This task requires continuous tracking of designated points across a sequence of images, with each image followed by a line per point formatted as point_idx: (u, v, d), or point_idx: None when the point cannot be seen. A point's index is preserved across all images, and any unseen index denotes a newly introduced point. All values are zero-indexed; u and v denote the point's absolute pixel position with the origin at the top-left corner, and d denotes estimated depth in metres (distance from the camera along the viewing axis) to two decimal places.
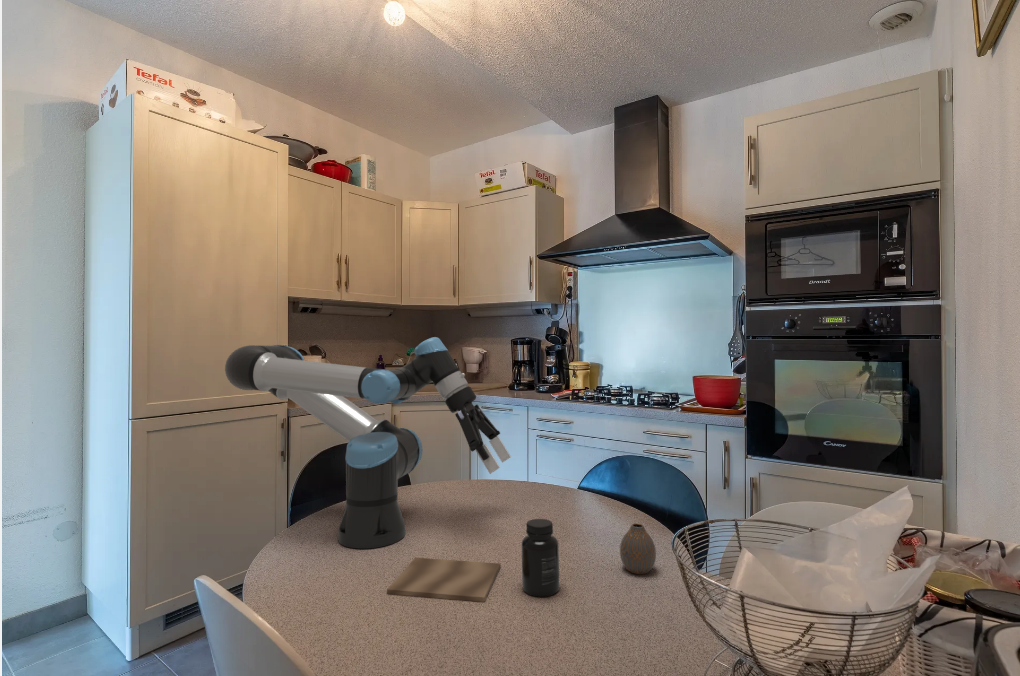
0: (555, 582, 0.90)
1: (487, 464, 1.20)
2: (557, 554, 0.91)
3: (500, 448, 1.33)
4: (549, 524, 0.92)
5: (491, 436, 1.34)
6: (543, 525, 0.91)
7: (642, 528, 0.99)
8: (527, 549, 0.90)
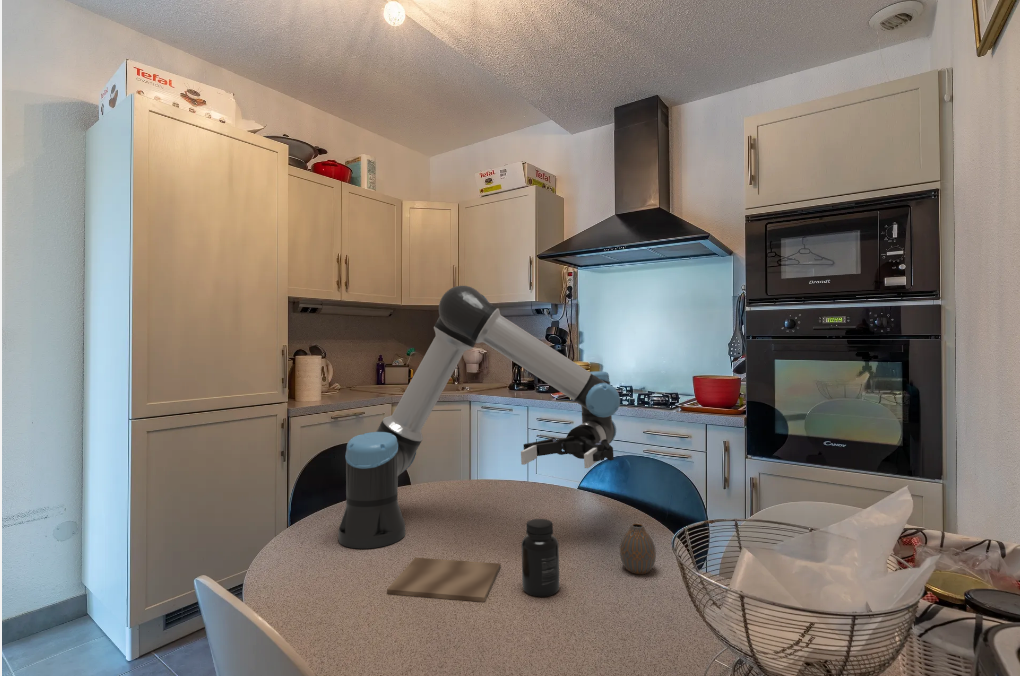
0: (555, 582, 0.90)
1: (591, 455, 1.01)
2: (557, 554, 0.91)
3: (531, 456, 1.08)
4: (549, 524, 0.92)
5: None
6: (543, 525, 0.91)
7: (642, 528, 0.99)
8: (527, 549, 0.90)
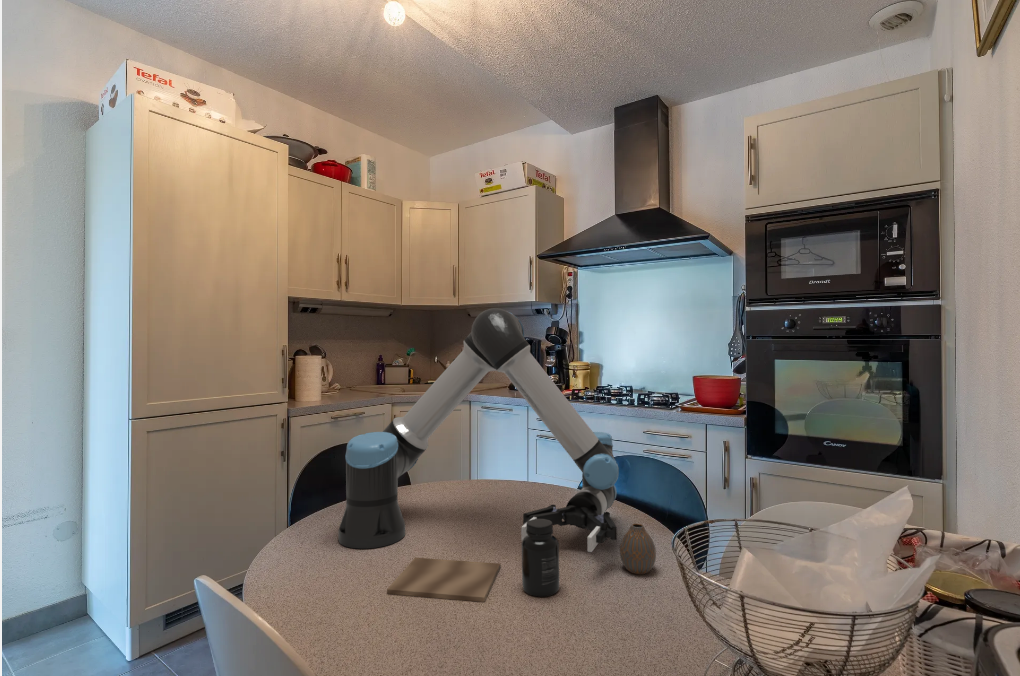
0: (555, 582, 0.90)
1: (594, 537, 0.97)
2: (557, 554, 0.91)
3: None
4: (549, 524, 0.92)
5: None
6: (543, 525, 0.91)
7: (642, 528, 0.99)
8: (527, 549, 0.90)
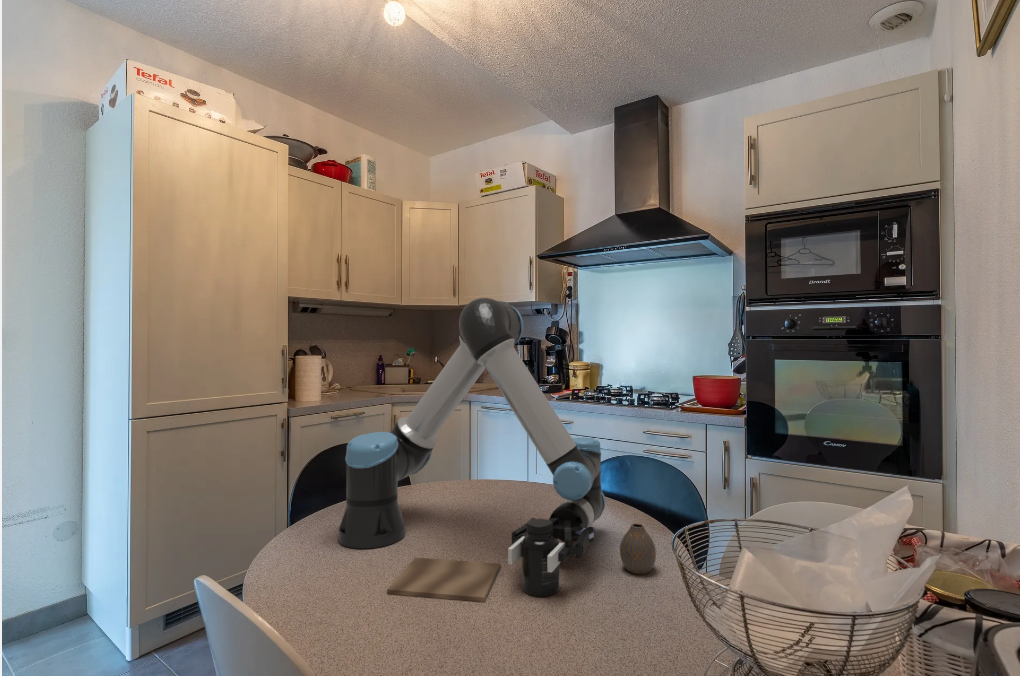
0: (555, 582, 0.90)
1: (556, 555, 0.88)
2: None
3: (519, 551, 0.93)
4: (549, 524, 0.92)
5: None
6: (543, 525, 0.91)
7: (642, 528, 0.99)
8: (527, 549, 0.90)
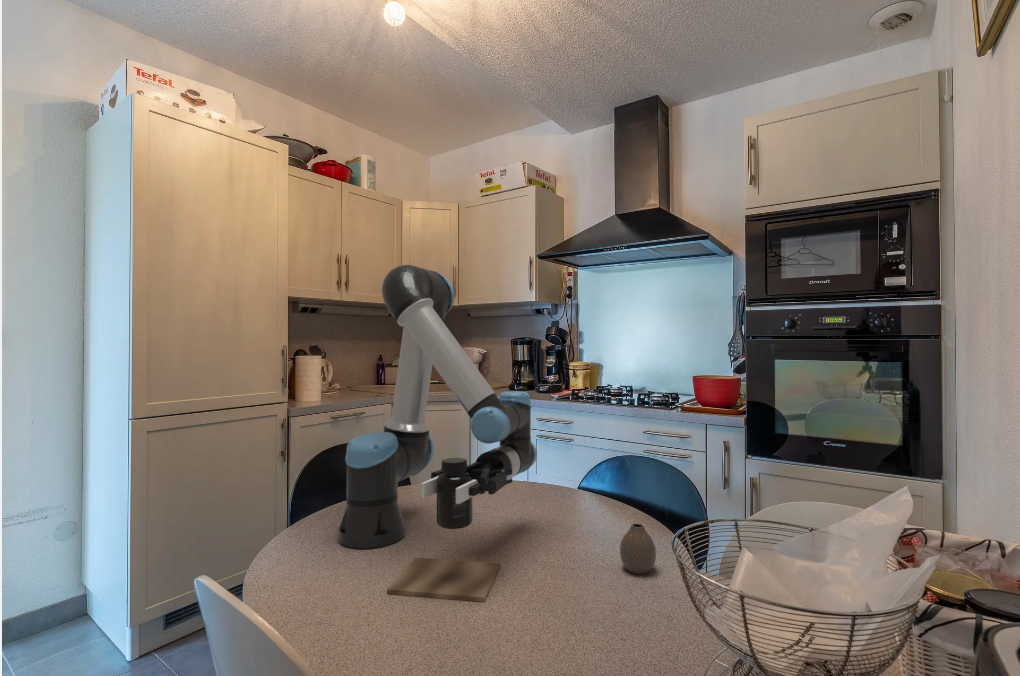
0: (466, 516, 0.94)
1: (465, 489, 0.92)
2: None
3: (434, 488, 0.96)
4: (463, 461, 0.95)
5: None
6: (456, 461, 0.95)
7: (642, 528, 0.99)
8: (440, 484, 0.94)
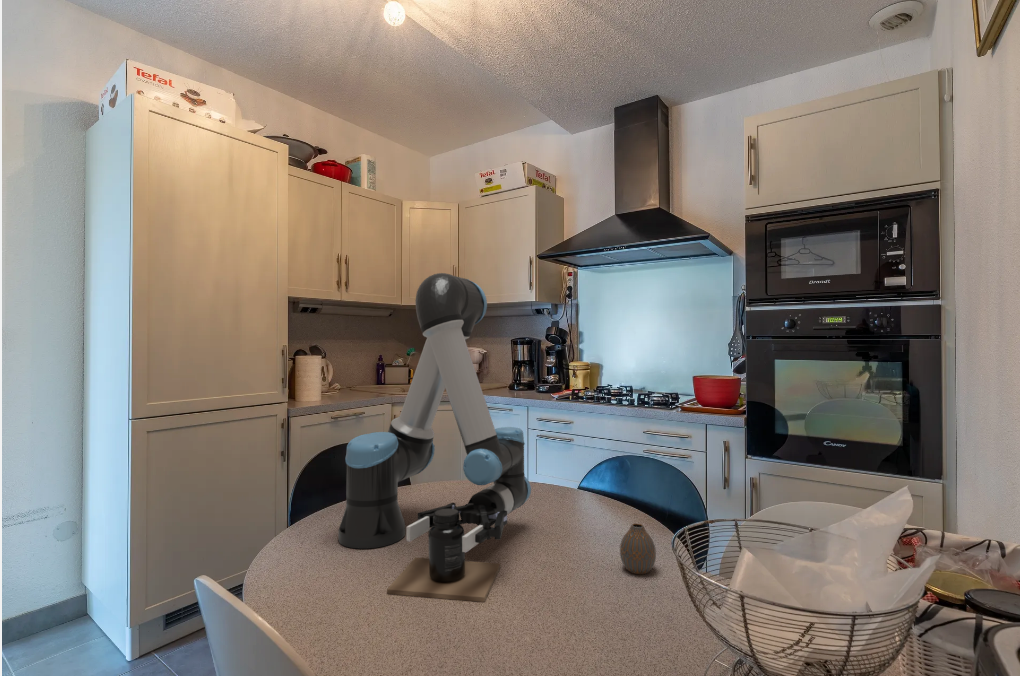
0: (458, 569, 0.94)
1: (472, 536, 0.92)
2: (461, 542, 0.95)
3: (420, 530, 0.99)
4: (454, 513, 0.96)
5: None
6: (448, 514, 0.95)
7: (642, 528, 0.99)
8: (431, 537, 0.94)
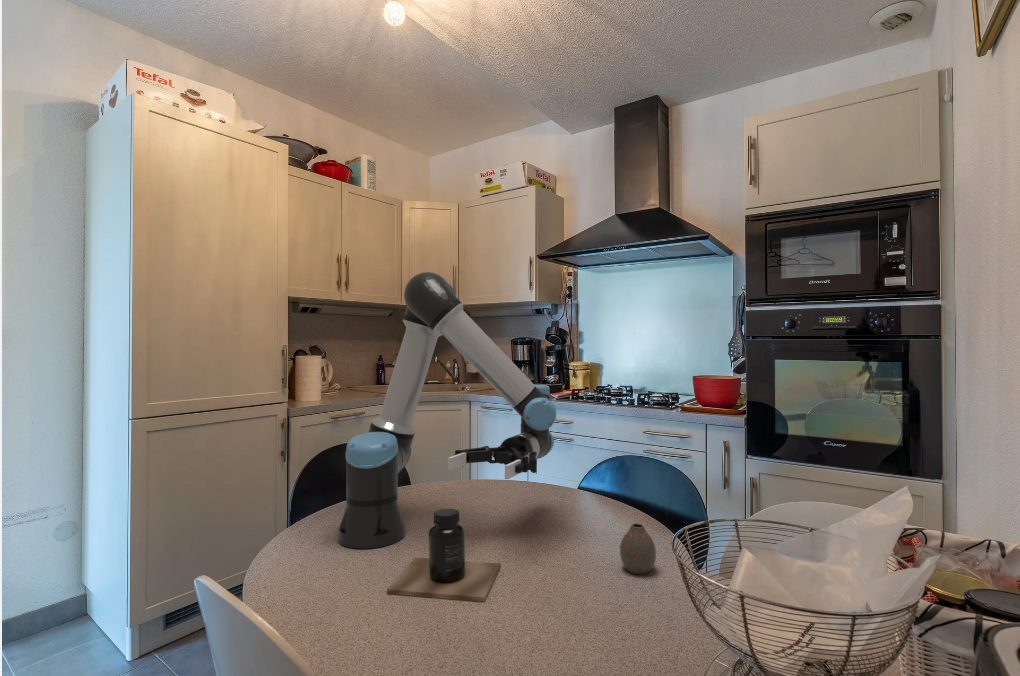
0: (458, 569, 0.94)
1: (513, 467, 1.05)
2: (462, 542, 0.95)
3: (458, 462, 1.11)
4: (455, 513, 0.96)
5: None
6: (448, 514, 0.95)
7: (642, 528, 0.99)
8: (432, 537, 0.94)
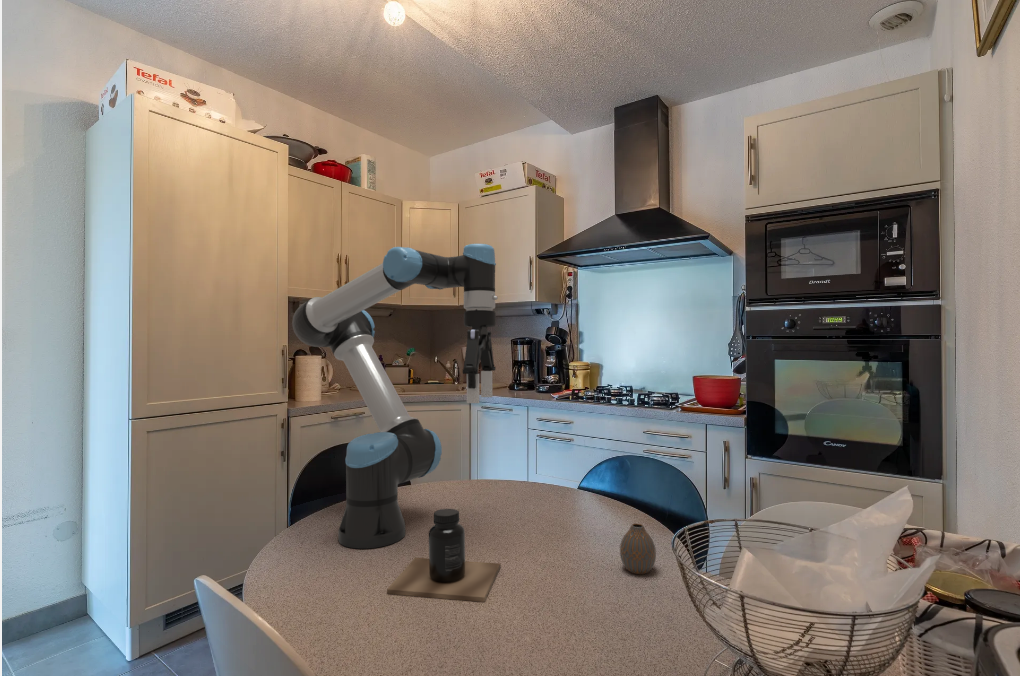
0: (458, 569, 0.94)
1: (469, 392, 1.13)
2: (462, 542, 0.95)
3: (487, 383, 1.26)
4: (455, 513, 0.96)
5: (485, 368, 1.27)
6: (448, 514, 0.95)
7: (642, 528, 0.99)
8: (432, 537, 0.94)
